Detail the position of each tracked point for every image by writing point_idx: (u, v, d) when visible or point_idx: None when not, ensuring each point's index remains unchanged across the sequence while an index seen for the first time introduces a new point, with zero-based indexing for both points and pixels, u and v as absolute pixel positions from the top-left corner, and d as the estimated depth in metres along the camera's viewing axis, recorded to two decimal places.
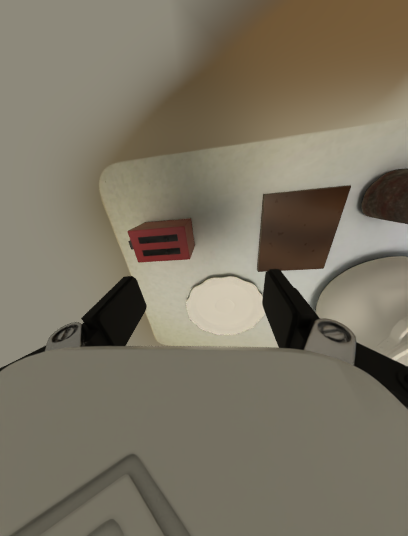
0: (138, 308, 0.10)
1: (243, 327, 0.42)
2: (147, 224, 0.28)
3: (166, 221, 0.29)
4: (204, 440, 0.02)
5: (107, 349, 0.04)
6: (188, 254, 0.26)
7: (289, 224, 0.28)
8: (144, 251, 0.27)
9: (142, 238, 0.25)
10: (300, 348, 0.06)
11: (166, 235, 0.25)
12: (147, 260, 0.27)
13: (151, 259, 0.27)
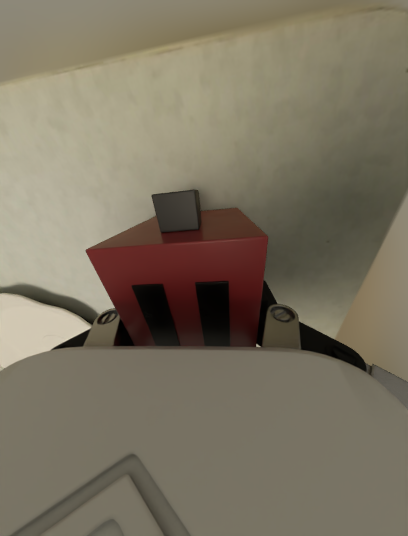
0: None
1: None
2: None
3: None
4: (204, 440, 0.02)
5: (107, 349, 0.04)
6: None
7: None
8: (155, 288, 0.06)
9: (221, 299, 0.05)
10: (258, 330, 0.07)
11: None
12: (114, 294, 0.06)
13: (122, 307, 0.06)
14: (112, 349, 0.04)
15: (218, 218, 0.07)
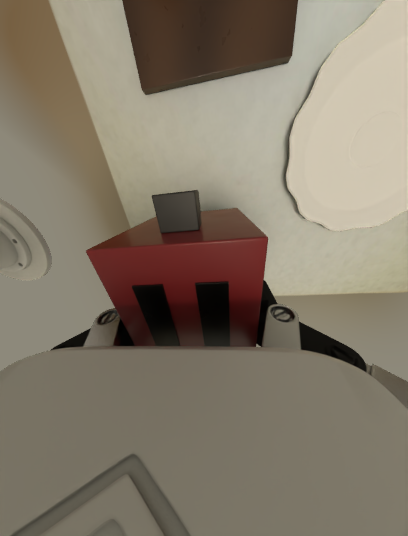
0: None
1: None
2: None
3: None
4: (204, 440, 0.02)
5: (107, 349, 0.04)
6: None
7: None
8: (155, 289, 0.06)
9: (221, 300, 0.05)
10: (258, 330, 0.07)
11: None
12: (114, 295, 0.06)
13: (122, 308, 0.06)
14: (112, 349, 0.04)
15: (218, 218, 0.07)
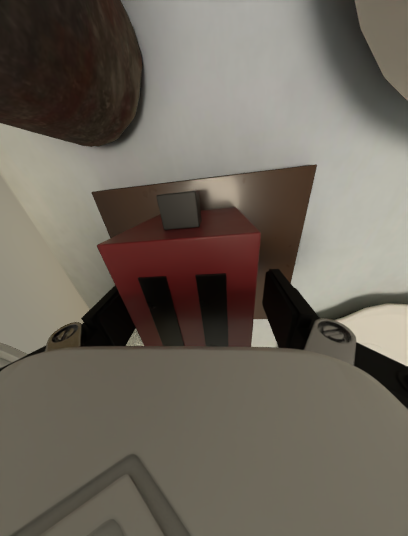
0: None
1: None
2: None
3: None
4: (204, 440, 0.02)
5: (107, 349, 0.04)
6: None
7: None
8: (159, 281, 0.06)
9: (219, 290, 0.06)
10: (300, 348, 0.06)
11: None
12: (121, 286, 0.06)
13: (129, 299, 0.07)
14: (112, 349, 0.04)
15: (217, 217, 0.08)
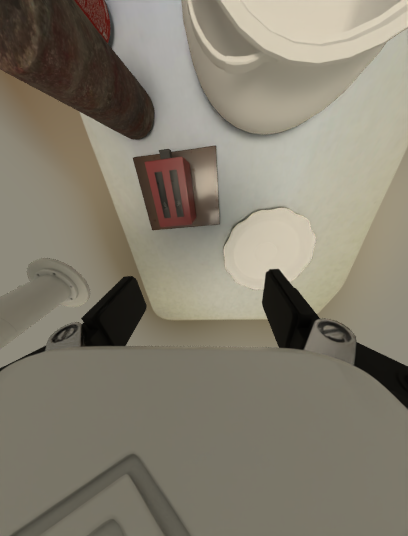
0: (138, 308, 0.10)
1: (305, 229, 0.32)
2: (188, 172, 0.26)
3: (192, 193, 0.29)
4: (204, 440, 0.02)
5: (107, 349, 0.04)
6: (164, 226, 0.27)
7: None
8: (159, 173, 0.23)
9: (175, 175, 0.23)
10: (300, 348, 0.06)
11: (181, 205, 0.25)
12: (149, 176, 0.23)
13: (151, 181, 0.24)
14: (112, 349, 0.04)
15: None
